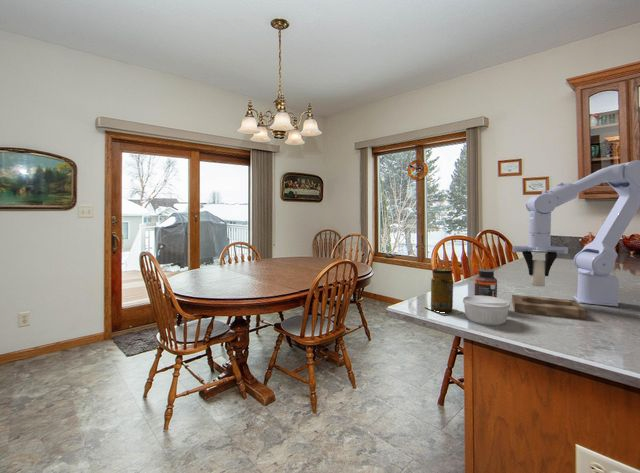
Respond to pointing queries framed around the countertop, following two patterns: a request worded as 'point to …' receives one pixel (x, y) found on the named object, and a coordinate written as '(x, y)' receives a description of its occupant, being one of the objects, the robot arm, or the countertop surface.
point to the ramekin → (486, 309)
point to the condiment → (442, 292)
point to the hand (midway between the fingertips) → (538, 275)
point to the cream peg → (538, 272)
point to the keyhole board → (548, 306)
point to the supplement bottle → (486, 283)
